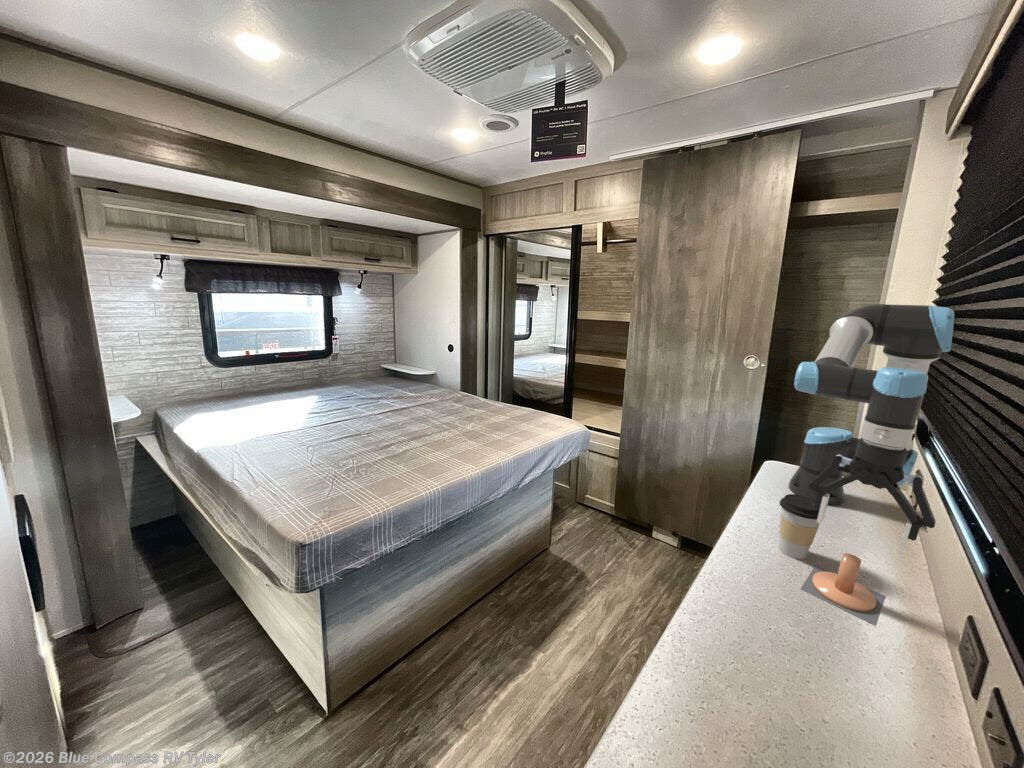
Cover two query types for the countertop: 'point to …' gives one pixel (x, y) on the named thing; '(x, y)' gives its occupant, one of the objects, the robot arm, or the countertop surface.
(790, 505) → the coffee cup
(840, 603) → the lid
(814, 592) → the mat
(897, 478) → the robot arm
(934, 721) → the countertop surface
